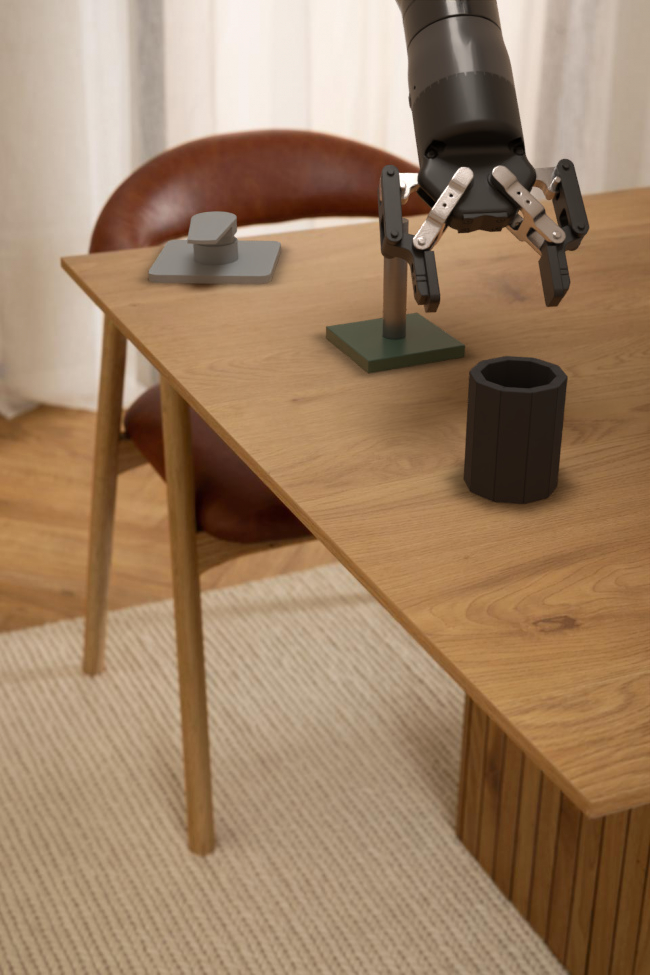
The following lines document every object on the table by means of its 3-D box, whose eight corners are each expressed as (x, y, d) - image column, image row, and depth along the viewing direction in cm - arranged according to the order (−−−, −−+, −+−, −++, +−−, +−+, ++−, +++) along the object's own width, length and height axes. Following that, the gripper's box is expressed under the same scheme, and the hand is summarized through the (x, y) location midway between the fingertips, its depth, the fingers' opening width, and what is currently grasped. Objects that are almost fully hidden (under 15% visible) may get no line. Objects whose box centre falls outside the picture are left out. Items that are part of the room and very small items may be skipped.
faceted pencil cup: (539, 460, 83) (548, 353, 79) (567, 502, 77) (579, 389, 74) (455, 466, 82) (461, 358, 78) (478, 508, 77) (485, 395, 73)
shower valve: (137, 237, 114) (165, 198, 127) (141, 291, 116) (169, 248, 129) (265, 238, 113) (281, 199, 126) (267, 293, 115) (282, 249, 129)
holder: (416, 324, 107) (420, 201, 102) (464, 358, 100) (471, 227, 95) (325, 339, 104) (324, 213, 99) (368, 374, 97) (369, 240, 92)
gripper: (372, 70, 81) (400, 284, 76) (574, 64, 82) (613, 274, 78) (359, 134, 88) (384, 334, 83) (545, 128, 89) (579, 323, 85)
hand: (495, 305), depth 80 cm, fingers open, 8 cm apart
